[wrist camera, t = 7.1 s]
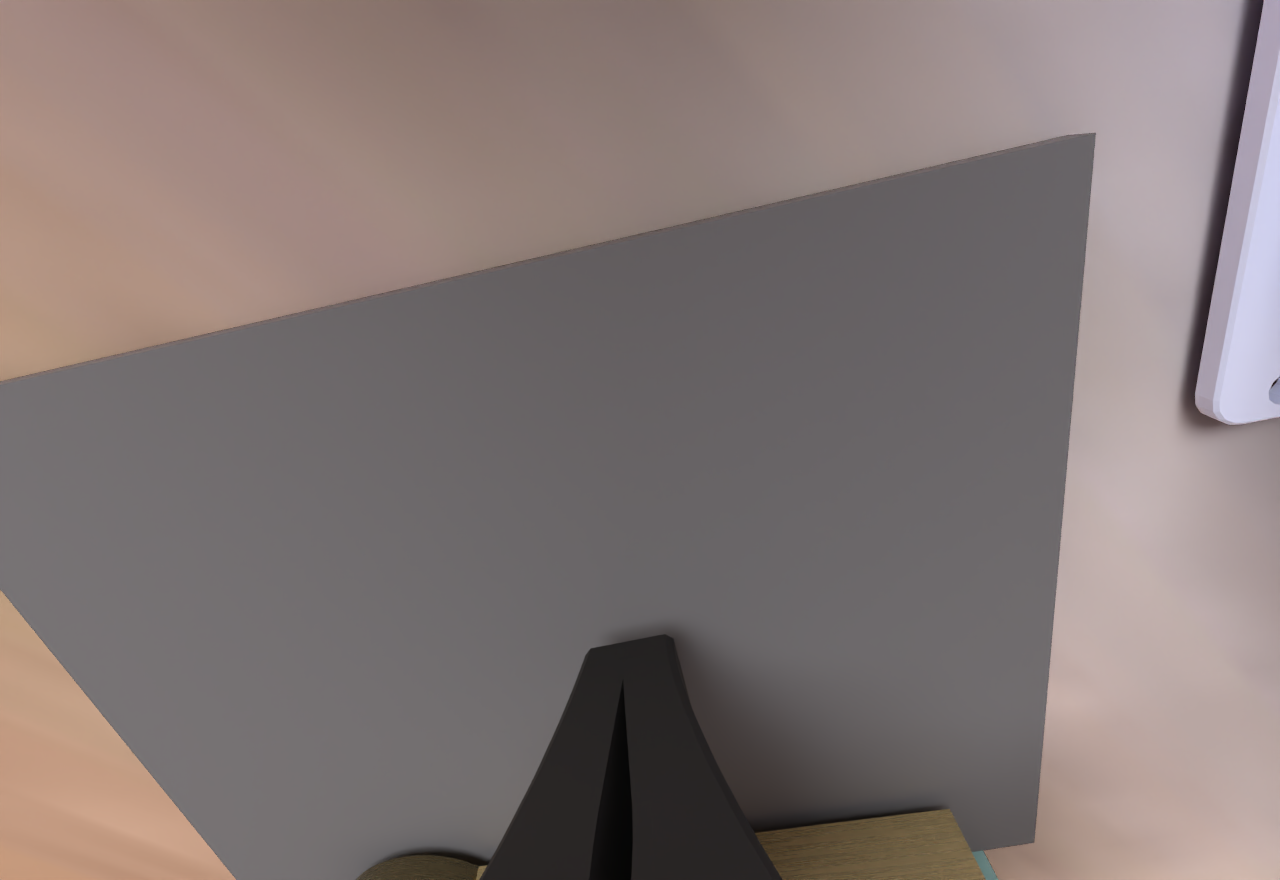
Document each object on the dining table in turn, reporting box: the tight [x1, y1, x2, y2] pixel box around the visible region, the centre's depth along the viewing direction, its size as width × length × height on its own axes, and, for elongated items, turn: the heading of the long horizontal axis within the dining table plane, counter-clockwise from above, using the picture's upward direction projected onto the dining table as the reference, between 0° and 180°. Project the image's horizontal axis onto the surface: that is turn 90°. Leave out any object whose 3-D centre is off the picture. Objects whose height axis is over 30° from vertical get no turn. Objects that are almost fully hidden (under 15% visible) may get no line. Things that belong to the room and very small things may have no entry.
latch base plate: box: [0, 133, 1096, 880], centre depth 11 cm, size 17×14×1 cm
